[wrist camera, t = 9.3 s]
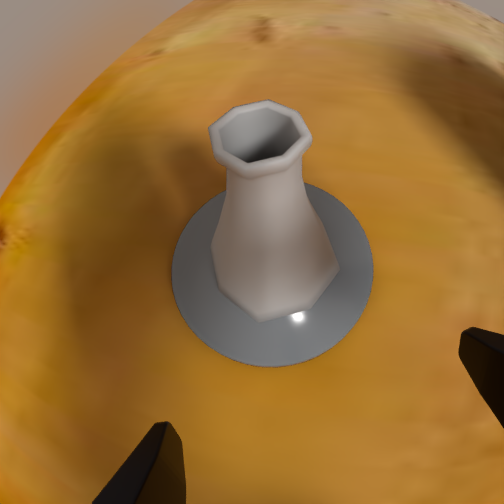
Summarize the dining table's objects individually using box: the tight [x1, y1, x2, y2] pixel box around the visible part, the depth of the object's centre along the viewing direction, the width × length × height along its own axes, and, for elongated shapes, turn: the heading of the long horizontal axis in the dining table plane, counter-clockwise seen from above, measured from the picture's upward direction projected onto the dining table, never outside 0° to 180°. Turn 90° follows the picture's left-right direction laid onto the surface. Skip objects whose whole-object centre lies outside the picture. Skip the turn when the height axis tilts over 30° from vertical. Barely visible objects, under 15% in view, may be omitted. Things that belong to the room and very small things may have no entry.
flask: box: [208, 99, 340, 323], centre depth 14 cm, size 7×7×10 cm
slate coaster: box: [172, 183, 373, 367], centre depth 19 cm, size 12×12×1 cm
